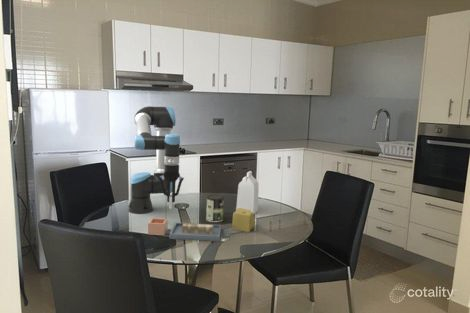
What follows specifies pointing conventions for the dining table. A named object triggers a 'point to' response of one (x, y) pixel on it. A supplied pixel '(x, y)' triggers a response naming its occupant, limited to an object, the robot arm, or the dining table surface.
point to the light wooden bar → (197, 228)
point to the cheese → (243, 220)
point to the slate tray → (178, 234)
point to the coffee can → (214, 208)
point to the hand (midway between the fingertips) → (170, 208)
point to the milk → (248, 193)
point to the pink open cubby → (157, 226)
